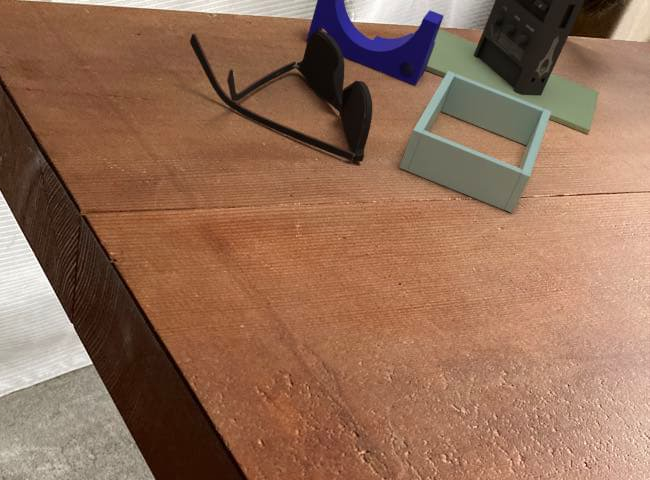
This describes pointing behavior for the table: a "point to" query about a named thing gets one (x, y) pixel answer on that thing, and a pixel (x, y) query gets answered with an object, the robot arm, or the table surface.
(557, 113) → the mat
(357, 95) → the sunglasses
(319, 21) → the blue curved cradle stand
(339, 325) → the table surface
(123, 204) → the table surface
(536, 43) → the geiger counter
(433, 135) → the holder
